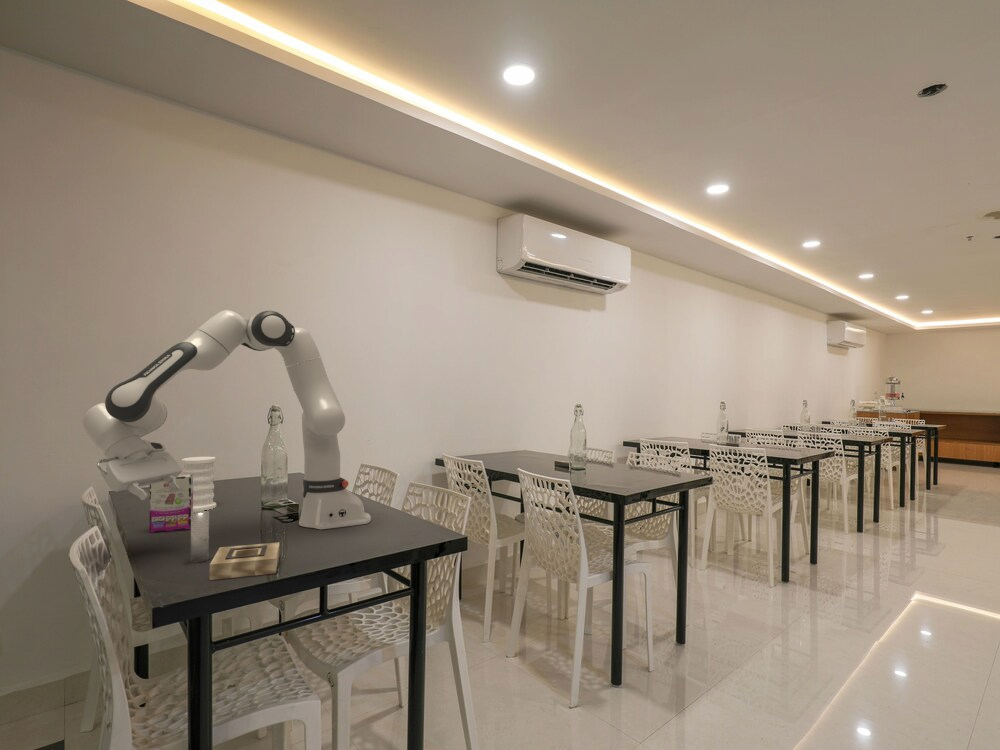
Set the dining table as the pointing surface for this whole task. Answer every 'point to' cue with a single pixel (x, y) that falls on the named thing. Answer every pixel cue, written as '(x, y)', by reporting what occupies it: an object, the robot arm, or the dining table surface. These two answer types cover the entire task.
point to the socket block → (245, 561)
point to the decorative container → (201, 481)
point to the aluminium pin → (199, 536)
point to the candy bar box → (171, 505)
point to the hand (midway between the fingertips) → (161, 494)
